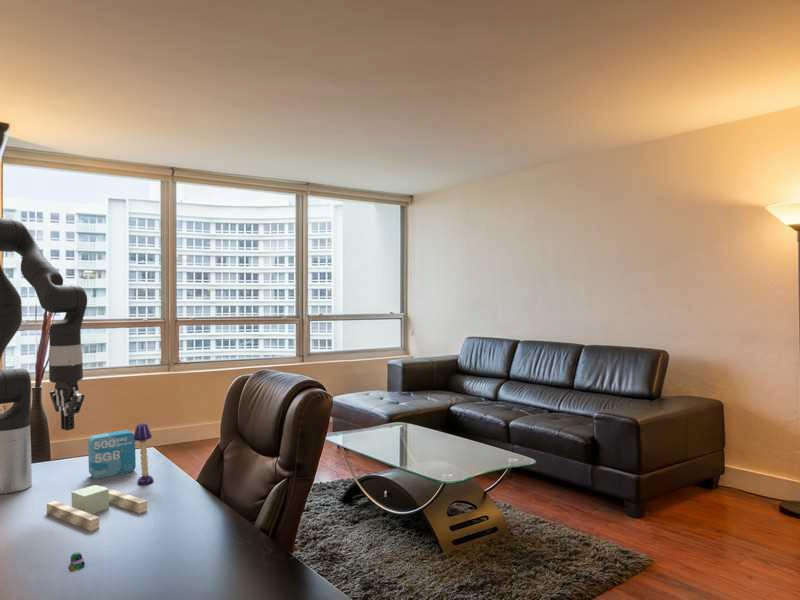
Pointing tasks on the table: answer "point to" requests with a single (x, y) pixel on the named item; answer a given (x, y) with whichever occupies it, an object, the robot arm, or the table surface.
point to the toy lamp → (143, 452)
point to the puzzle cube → (76, 562)
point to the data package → (111, 454)
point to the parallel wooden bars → (91, 520)
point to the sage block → (91, 499)
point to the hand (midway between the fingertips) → (67, 429)
